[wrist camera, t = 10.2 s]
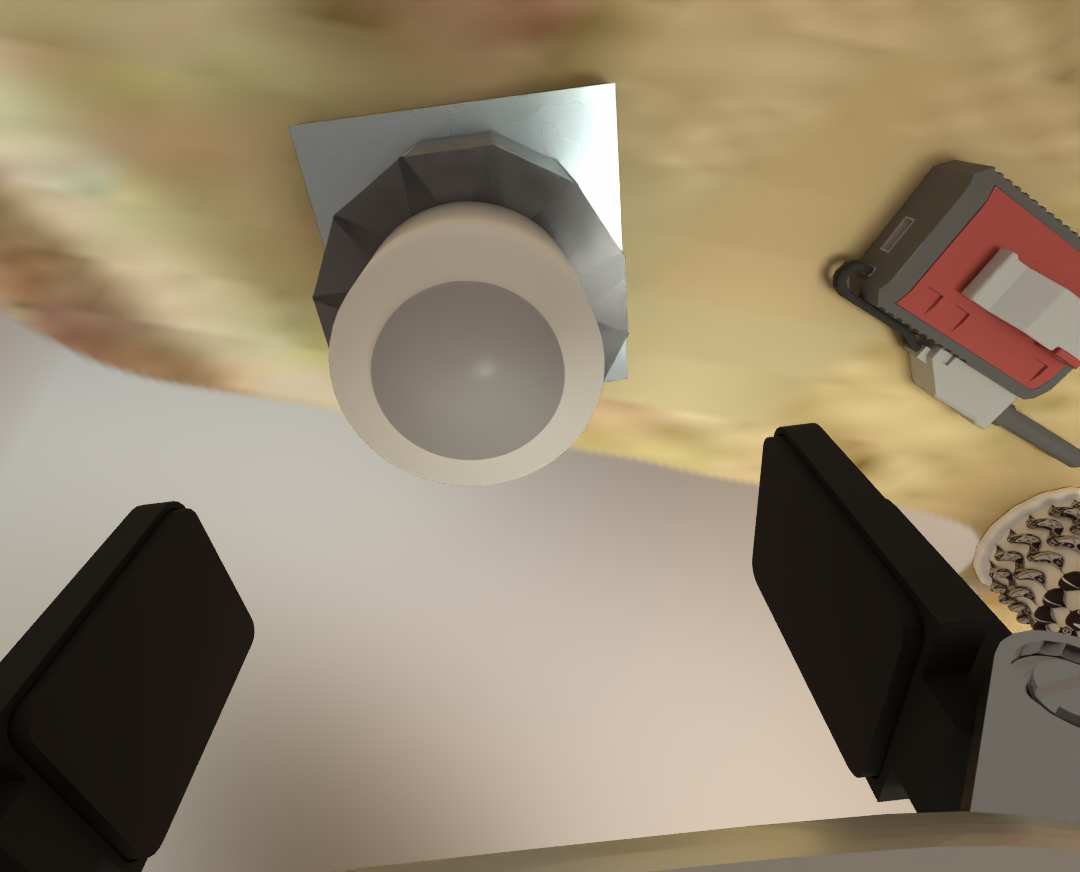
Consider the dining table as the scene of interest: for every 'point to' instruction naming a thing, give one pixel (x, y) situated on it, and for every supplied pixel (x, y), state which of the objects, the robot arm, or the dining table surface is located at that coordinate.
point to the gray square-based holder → (475, 186)
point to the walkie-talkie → (977, 296)
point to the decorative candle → (1036, 560)
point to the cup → (467, 347)
